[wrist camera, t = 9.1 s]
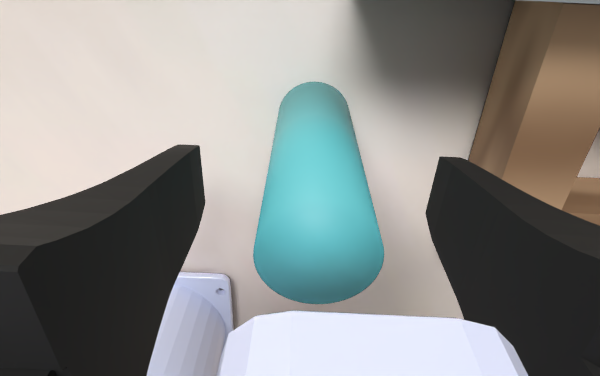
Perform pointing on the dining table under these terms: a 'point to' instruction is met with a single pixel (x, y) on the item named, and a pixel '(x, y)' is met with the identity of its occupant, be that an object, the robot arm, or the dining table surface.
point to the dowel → (317, 203)
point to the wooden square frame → (545, 105)
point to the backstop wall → (570, 1)
